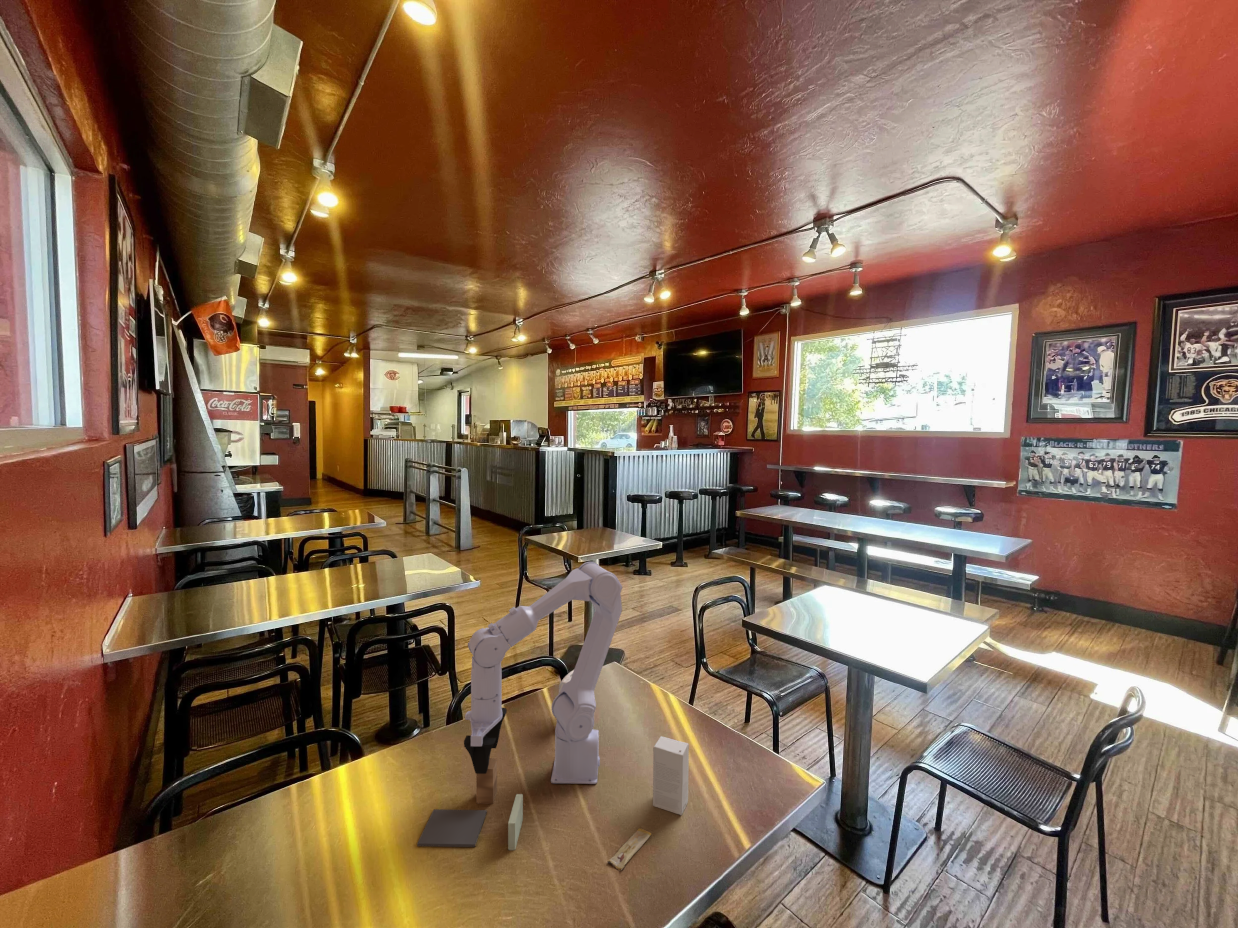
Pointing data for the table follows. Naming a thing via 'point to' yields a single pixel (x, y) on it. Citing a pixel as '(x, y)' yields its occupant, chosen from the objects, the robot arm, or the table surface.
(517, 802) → the sage tile
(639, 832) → the snack bar
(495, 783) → the oak push block
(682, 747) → the skincare box
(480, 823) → the mat
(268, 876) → the table surface
